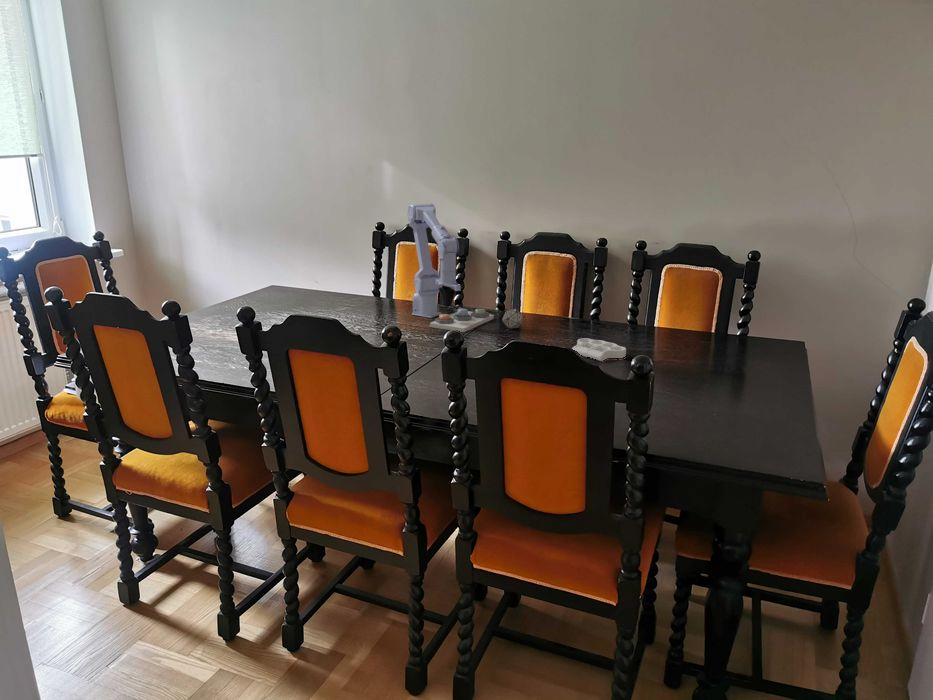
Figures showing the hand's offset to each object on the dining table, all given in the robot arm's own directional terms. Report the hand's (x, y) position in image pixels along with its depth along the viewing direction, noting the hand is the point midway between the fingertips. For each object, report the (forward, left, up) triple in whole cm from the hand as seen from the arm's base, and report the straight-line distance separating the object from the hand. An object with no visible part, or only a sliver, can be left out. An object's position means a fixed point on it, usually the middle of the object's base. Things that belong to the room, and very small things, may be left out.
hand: (447, 306), depth 263 cm
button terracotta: (-1, -1, -6) cm, 6 cm away
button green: (+7, +14, -6) cm, 16 cm away
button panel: (+3, +6, -7) cm, 10 cm away
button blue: (+3, +6, -4) cm, 8 cm away
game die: (+23, +8, -8) cm, 26 cm away
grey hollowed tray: (+62, -5, -8) cm, 62 cm away
